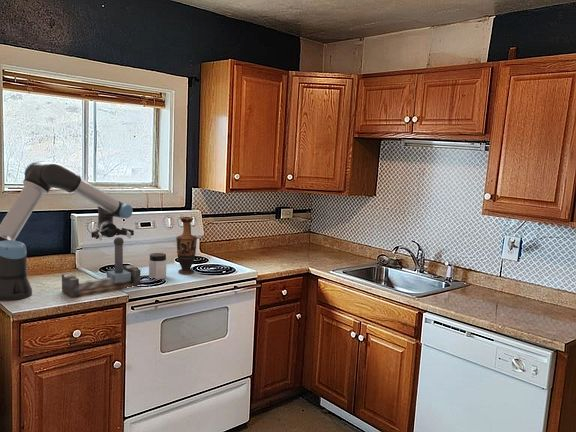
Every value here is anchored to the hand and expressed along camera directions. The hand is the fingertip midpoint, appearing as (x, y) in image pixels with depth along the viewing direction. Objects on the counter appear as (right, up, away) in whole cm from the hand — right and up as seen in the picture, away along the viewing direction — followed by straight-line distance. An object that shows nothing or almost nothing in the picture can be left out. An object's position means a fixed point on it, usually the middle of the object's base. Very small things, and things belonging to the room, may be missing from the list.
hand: (115, 236), depth 239 cm
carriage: (+4, -20, -6) cm, 22 cm away
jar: (+17, -22, +12) cm, 30 cm away
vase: (+30, -21, +24) cm, 43 cm away
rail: (-2, -24, -11) cm, 26 cm away
